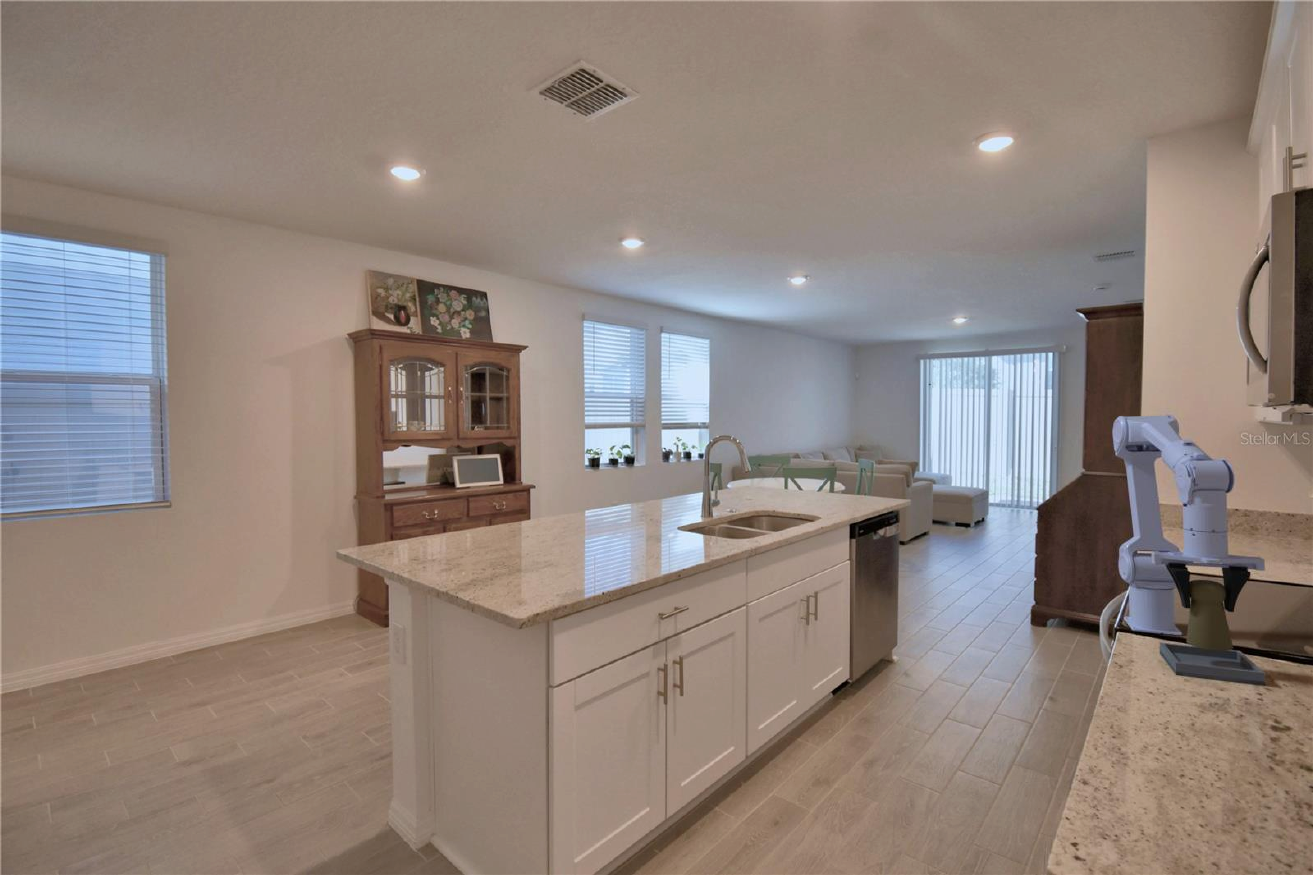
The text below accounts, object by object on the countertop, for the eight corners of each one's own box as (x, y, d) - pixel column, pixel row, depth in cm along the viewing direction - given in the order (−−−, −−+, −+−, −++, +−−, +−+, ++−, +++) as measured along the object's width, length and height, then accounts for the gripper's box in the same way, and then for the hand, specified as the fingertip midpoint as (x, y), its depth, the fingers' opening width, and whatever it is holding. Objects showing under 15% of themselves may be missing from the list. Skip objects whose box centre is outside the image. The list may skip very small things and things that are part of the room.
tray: (1159, 653, 114) (1159, 642, 114) (1240, 662, 109) (1239, 650, 109) (1175, 674, 104) (1175, 662, 104) (1265, 685, 99) (1265, 673, 99)
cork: (1234, 653, 103) (1230, 587, 102) (1186, 646, 106) (1182, 583, 106) (1231, 641, 107) (1228, 578, 107) (1186, 636, 111) (1182, 575, 111)
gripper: (1157, 531, 106) (1159, 610, 106) (1271, 535, 99) (1273, 620, 100) (1148, 525, 113) (1150, 600, 113) (1254, 529, 106) (1256, 608, 106)
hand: (1207, 608), depth 106 cm, fingers closed on cork, 5 cm apart
